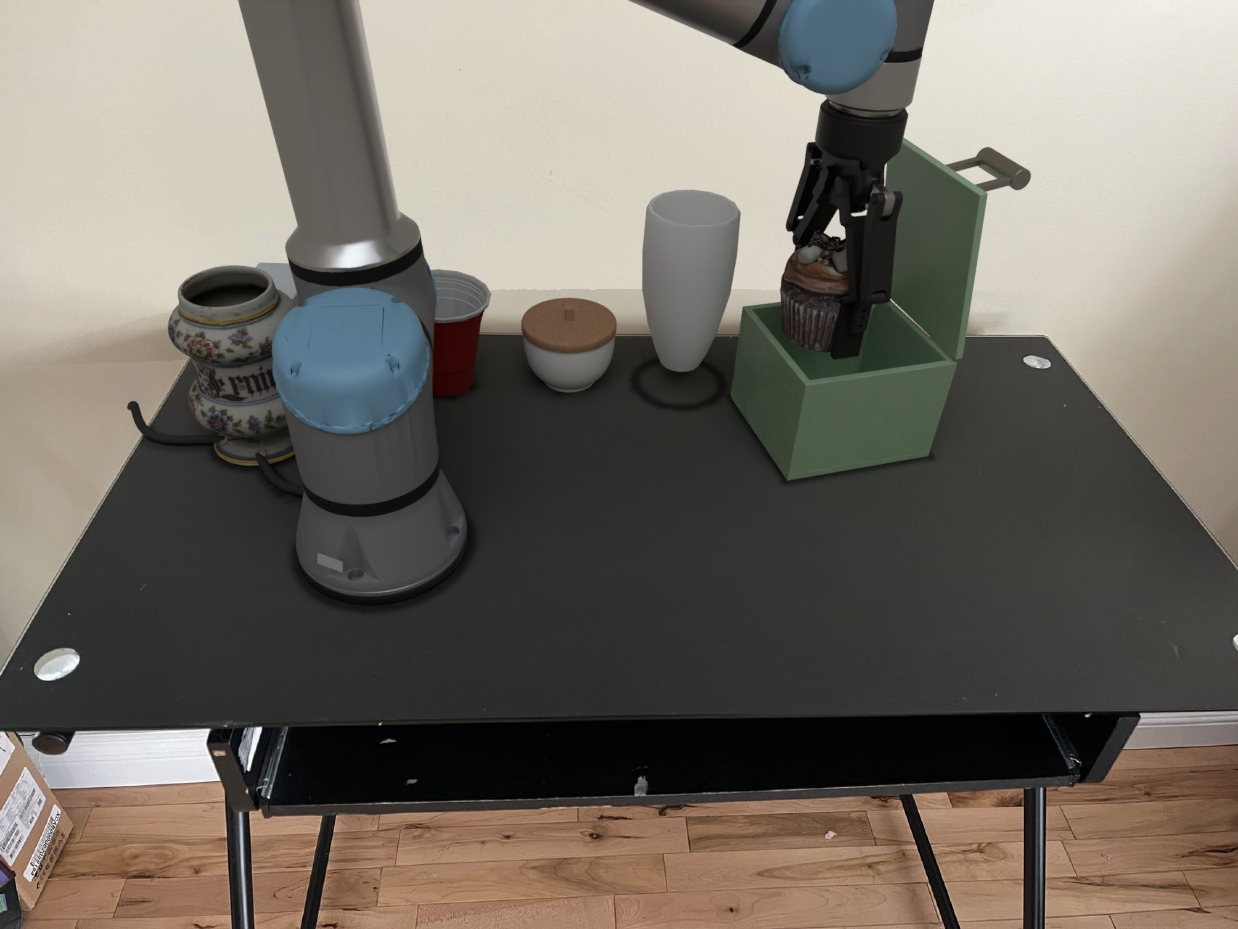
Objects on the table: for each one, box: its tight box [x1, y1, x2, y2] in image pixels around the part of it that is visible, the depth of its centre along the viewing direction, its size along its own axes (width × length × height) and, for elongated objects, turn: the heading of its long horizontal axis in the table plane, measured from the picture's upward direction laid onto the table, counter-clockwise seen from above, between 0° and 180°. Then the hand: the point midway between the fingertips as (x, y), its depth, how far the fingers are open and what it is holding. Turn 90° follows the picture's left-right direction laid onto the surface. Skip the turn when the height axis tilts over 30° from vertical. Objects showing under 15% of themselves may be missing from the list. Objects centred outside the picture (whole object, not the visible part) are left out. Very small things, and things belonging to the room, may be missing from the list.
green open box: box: [730, 299, 958, 481], centre depth 97 cm, size 17×16×12 cm
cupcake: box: [779, 229, 876, 352], centre depth 89 cm, size 10×10×10 cm
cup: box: [641, 189, 742, 373], centre depth 100 cm, size 10×10×22 cm
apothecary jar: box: [167, 264, 296, 467], centre depth 90 cm, size 12×12×18 cm
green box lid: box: [884, 137, 1032, 361], centre depth 90 cm, size 17×16×9 cm
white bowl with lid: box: [520, 297, 618, 393], centre depth 104 cm, size 11×11×9 cm
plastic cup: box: [430, 268, 492, 397], centre depth 101 cm, size 11×11×12 cm
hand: (820, 329), depth 92 cm, fingers closed on cupcake, 10 cm apart
